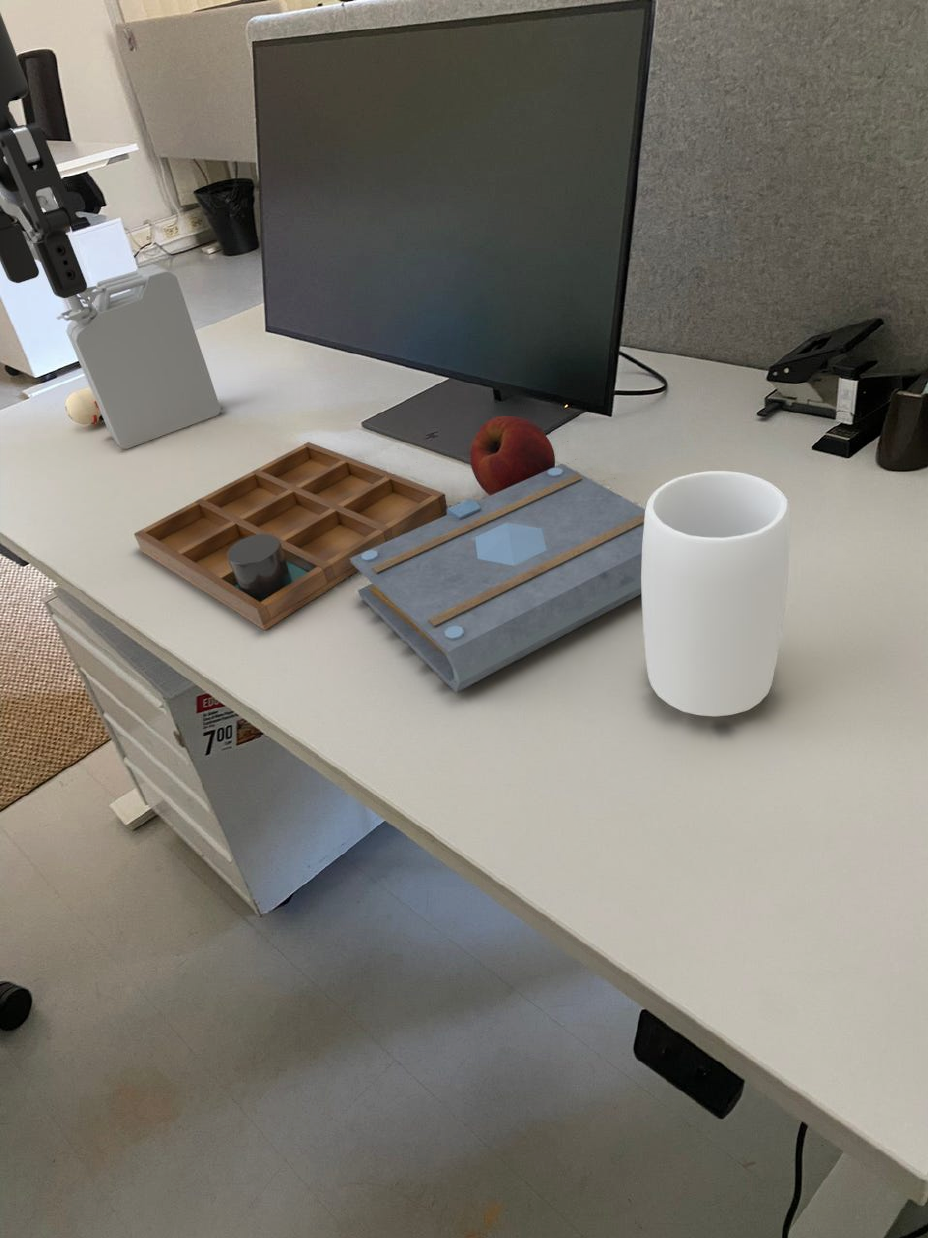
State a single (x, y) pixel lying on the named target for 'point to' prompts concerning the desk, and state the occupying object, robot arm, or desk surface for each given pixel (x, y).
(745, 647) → the cup
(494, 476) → the apple
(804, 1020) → the desk surface
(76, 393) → the toy figurine
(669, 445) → the desk surface
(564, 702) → the desk surface
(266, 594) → the dark grey cylinder
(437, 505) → the board
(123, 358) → the fuel canister
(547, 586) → the book
